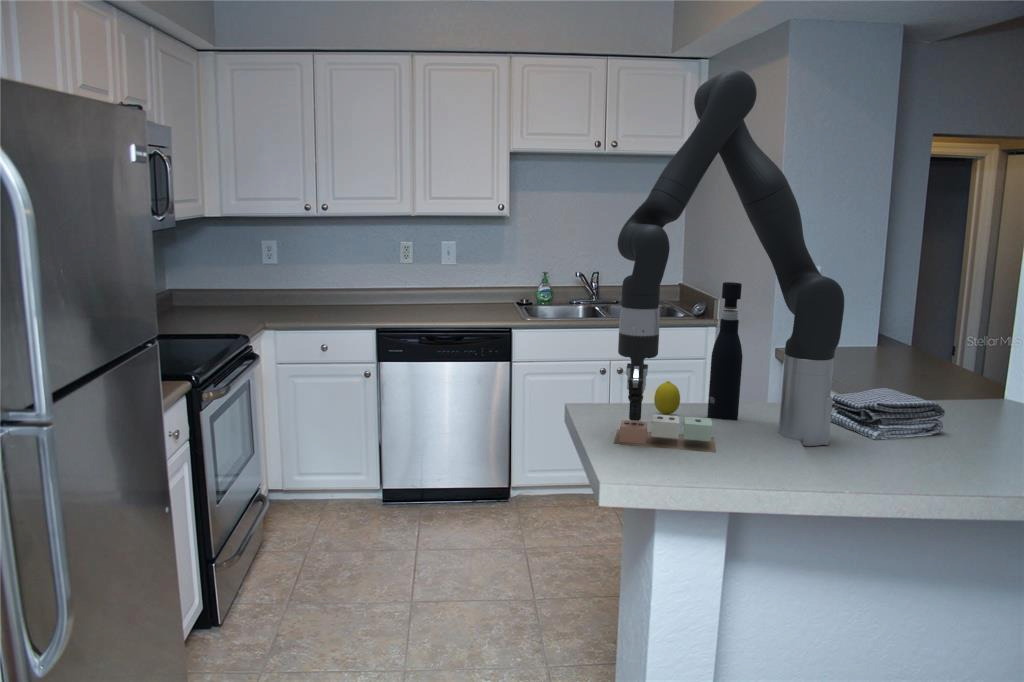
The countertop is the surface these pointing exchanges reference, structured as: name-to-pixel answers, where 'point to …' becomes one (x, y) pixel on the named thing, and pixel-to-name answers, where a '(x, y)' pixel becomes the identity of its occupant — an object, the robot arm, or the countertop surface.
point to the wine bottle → (726, 360)
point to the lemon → (667, 398)
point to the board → (672, 443)
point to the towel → (887, 414)
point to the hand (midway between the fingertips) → (635, 419)
